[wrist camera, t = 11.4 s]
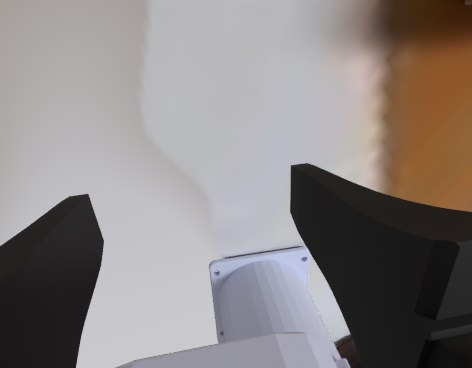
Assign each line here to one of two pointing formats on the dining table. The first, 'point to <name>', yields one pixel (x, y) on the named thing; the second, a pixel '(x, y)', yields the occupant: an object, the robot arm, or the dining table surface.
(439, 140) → the dining table surface
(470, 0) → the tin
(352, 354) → the brown curved band
